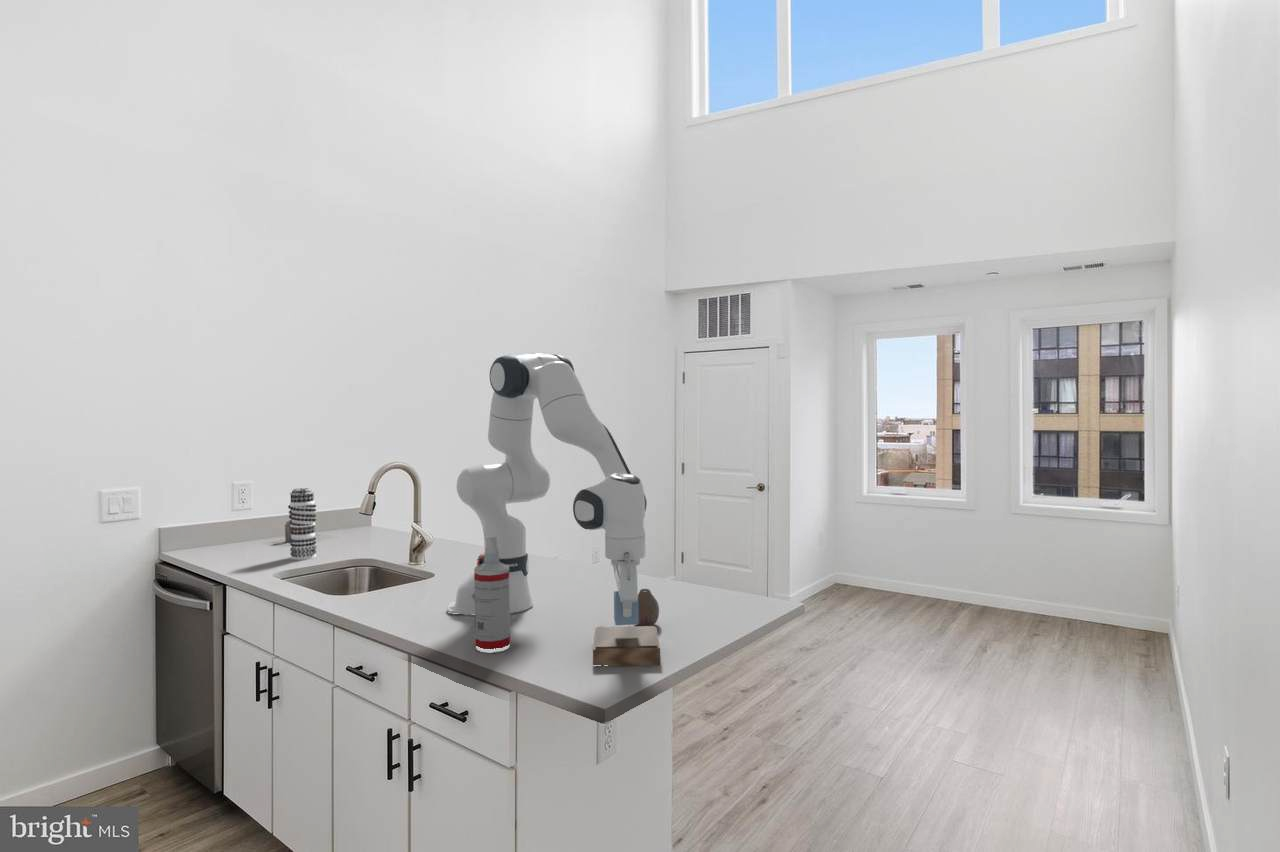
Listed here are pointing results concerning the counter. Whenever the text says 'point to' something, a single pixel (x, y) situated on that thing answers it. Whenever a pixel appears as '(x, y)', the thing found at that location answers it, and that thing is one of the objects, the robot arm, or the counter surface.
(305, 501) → the decorative candle
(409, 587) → the counter surface
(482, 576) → the nozzle bottle
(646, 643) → the walnut plinth
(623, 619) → the slate block
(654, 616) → the vase
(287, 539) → the architectural model on board
